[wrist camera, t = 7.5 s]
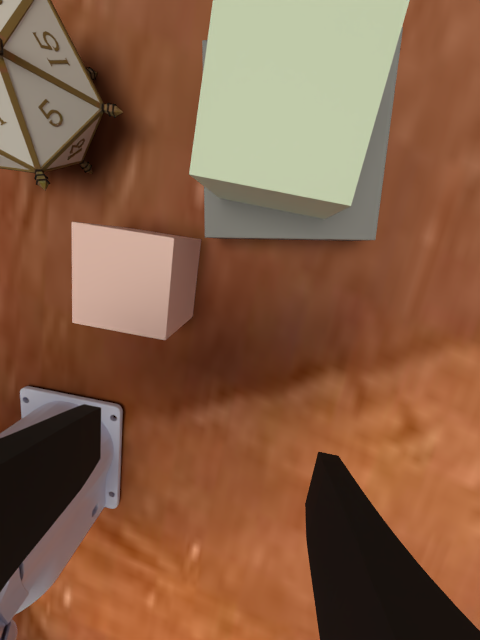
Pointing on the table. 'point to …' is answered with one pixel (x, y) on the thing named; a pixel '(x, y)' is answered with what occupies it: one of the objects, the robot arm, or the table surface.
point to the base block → (275, 224)
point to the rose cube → (133, 279)
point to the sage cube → (292, 99)
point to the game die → (44, 93)
